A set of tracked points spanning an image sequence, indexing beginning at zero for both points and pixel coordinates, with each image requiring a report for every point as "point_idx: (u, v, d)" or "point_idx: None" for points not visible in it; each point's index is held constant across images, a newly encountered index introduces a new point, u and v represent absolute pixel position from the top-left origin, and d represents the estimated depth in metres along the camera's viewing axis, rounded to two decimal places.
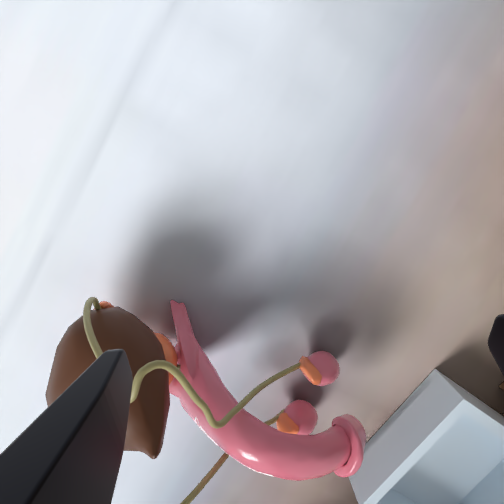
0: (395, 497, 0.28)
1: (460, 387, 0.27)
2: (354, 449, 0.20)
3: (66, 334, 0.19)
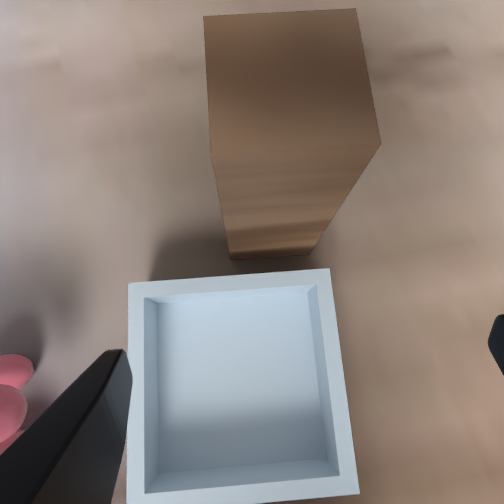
0: (217, 473, 0.19)
1: None
2: None
3: None
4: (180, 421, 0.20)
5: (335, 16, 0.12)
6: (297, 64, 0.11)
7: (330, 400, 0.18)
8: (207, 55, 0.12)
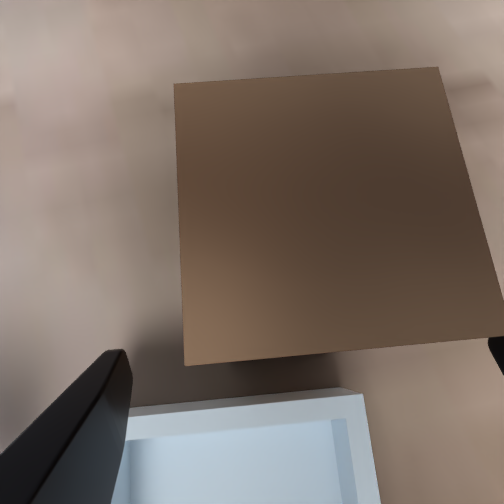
0: None
1: (165, 405, 0.17)
2: None
3: None
4: None
5: (404, 82, 0.07)
6: (343, 173, 0.06)
7: None
8: (180, 158, 0.06)
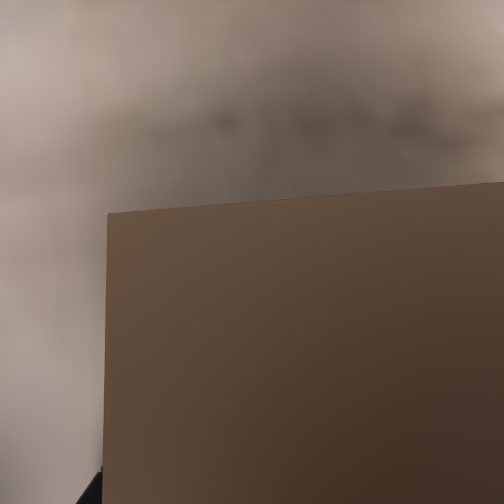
0: None
1: None
2: None
3: None
4: None
5: None
6: None
7: None
8: (111, 424, 0.03)
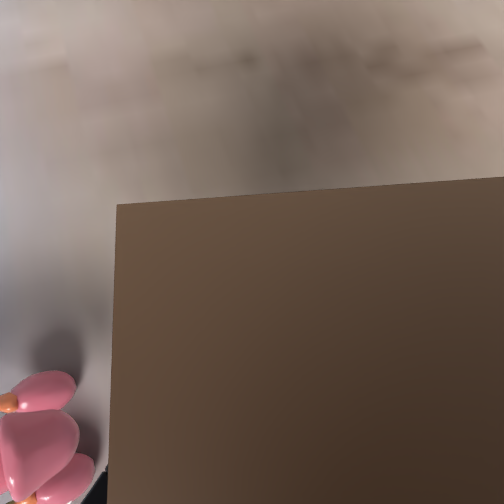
0: None
1: None
2: (0, 439, 0.13)
3: None
4: None
5: None
6: None
7: None
8: (117, 400, 0.03)
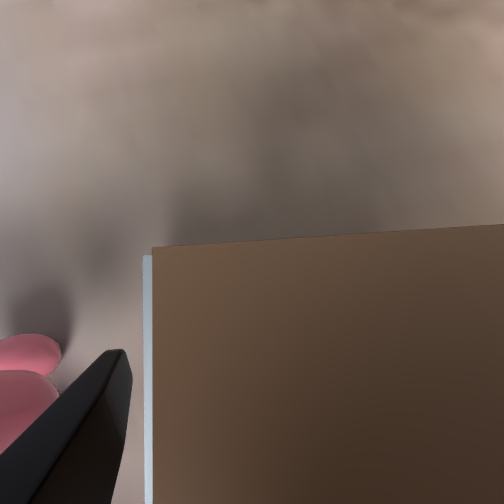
0: None
1: None
2: None
3: None
4: None
5: None
6: (473, 450, 0.03)
7: None
8: (158, 414, 0.03)
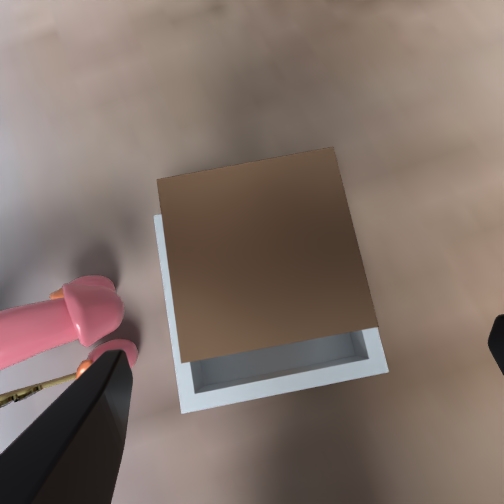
0: (256, 377, 0.21)
1: None
2: (64, 297, 0.17)
3: None
4: None
5: (310, 161, 0.10)
6: (271, 231, 0.10)
7: None
8: (165, 232, 0.10)
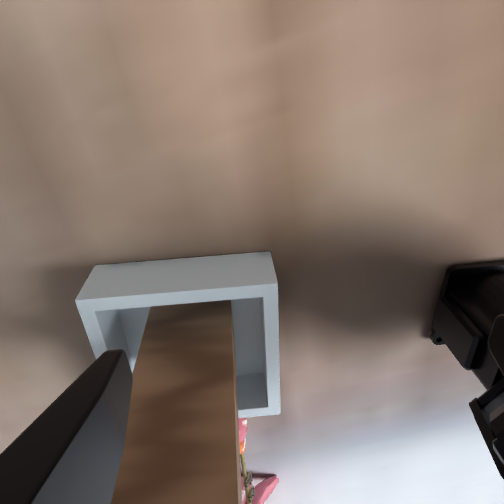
0: (263, 349, 0.24)
1: None
2: None
3: None
4: None
5: None
6: None
7: (202, 300, 0.20)
8: None
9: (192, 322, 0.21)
